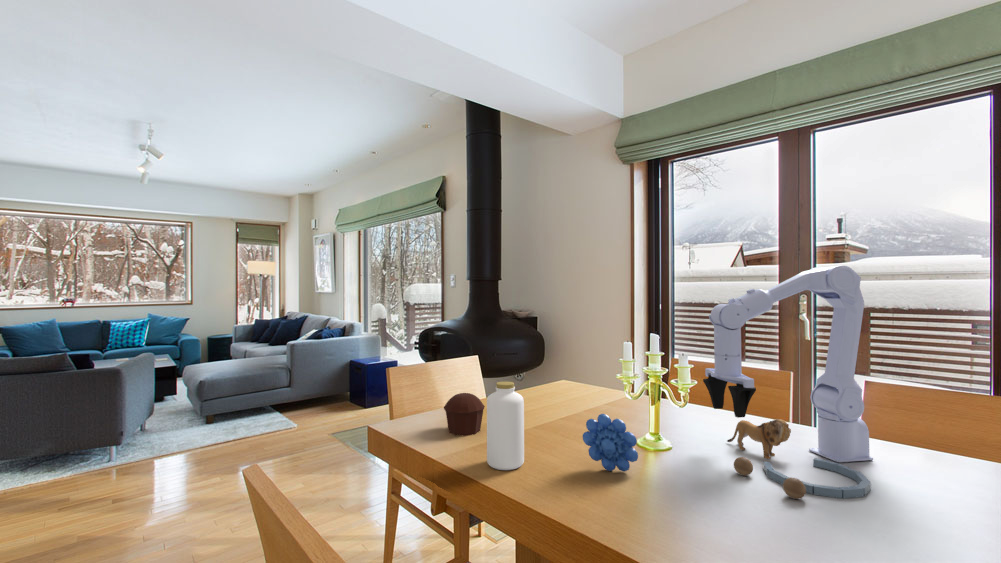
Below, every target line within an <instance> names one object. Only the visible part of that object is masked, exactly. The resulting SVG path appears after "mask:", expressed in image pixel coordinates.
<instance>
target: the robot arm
mask: <svg viewBox="0 0 1001 563" xmlns="http://www.w3.org/2000/svg"><path fill="white" fill-rule="evenodd" d="M861 280H862V277H861V276H860V275H859V274H858V273H857V272H856V271H855V270H854V269H853V268H852V267H850V266H847V265H843V264H841V265H837V266H827V267H825V266H823V267H817V266H816V267H813V268H810V269H809V270H804V271H801V272H800V273H798V274H795V275H794V276H792V277H790V278H788V279H785V280H784V281H781V282H780V283H778V284H776V285H775V286H772V287H770V288H768V289H766V290H764V289H761V288H756V289H755V288H749V289H747V290H746V291H745V292H746V293H745V294H743V295H741V296H739V297H735V298H733V297H731V298H729V299H728V302H727V303H719V304H716V305H715V306H713V309H711V312H710V314H709V315H708V319H709V321H710V323H711V325H713V346H714V349H713V352H714V358H713V359H714V368H713V367H712V368H708V367H707V368H705V369H704V370H705V373H704V374H705V377H707V378H703V380H702V382H703V384H704V385H705V387H706V390H708V394H709V396H710V400H711V404H712V407H713V409H714V410H719V409H723V408H724V404H725V403H724V402H725V393H726V387H727V384H728V383H731V384H734V385H728V387H727V388H728V390H729V392H730V395H731V399H732V403H733V404H732V405H733V406H732V408H733V414H734V417H735V418H737V419H739V418H745V417H746V415H747V411H748V406H749V404H750V401H751V399H752V397H753V396H754V395H755V393H756V391H757V388H756V387H755V378H752V377H749V376H747V375H745V374H743V373H742V370H743V369H742V327H744V325H745V324H746V322H748V321H750V320H752V319H754V318H756V317H759V316H761V315H763V314H766V313H767V312H770V311H771V310H772V309H773V306H774V303H777V302H780V301H781V300H785V299H787V298H789V297H791V296H793V295H796V294H799V293H802V292H803V291H810V292H811V293H813V294H815V295H816V296H817V297H818V296H819V298H822V299H824V300H825V301H826V302H827V303H828V304H829V306H831V307H832V308H833V311H832V312H833V313H832V319H831V327H830V334H829V341H828V348H827V355H826V363H825V370H824V373H822V375H820V376H819V377H818V378H817V379H816V382H815V383H816V384H815V386H814V388H813V389H812V390H811V392H810V401H811V404H812V406H813V407H814V408H816V414H817V436H818V437H817V447H812V448H811V447H810V448H808V451H809V452H811V453H814V454H817V455H819V456H822V457H823V458H826V459H828V460H831V461H832V462H833V461H834V462H835V463H848V462H849V463H850V462H863V461H864V462H865V461H873V460H874V457H872V456H870V431H869V428H868V426H867V424H866V422H865V421H864V420H863V419H861V416H862V415H863V414H864V411H865V403H864V400H863V396H862V395H863V389H862V387H861V386H860V385H859V383H858V382H857V381H856V379H855V373H856V367H857V366H856V365H857V359H858V351H859V343H860V337H861V330H862V323H863V317H864V316H863V315H864V308H865V300H864V297H863V294H862V293H863V292H862V291H861V287H860V286H861Z"/></svg>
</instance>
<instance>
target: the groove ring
mask: <svg viewBox="0 0 1001 563" xmlns="http://www.w3.org/2000/svg"><path fill="white" fill-rule="evenodd" d="M812 462H813V465H812V466H813V467H816V468H820V469H824V470H827V471H831V472H836V473H838V474H841V475H842V476H845V477H848V478H850V479H851V480H854V481H855V482H856V483H857V485H850V486H849V485H848V486H839V487H838V486H830V485H821V484H816V483H810V482H807V481H803V480H800V481H801V482H802V483H803V484H804V485H805V488H806V494H811V495H815V496H821V497H830V498H837V499H849V498H851V499H852V498H854V499H855V498H863V497H866V496H867V494H868V493H870V491H871V488H872V487H871V486H872V484H871V481H870V479H869V478H868V477H866V476H865V475H864V473H862V472H861V471H858V470H856V469H854V468H851V467H849V466H847V465H844V464H841V463H839V462H835V461H834V462H833V461H830V460H826V459H821V458H817V457H814V458H813V460H812ZM762 464H763V468H762V469H763V470H764V472H765V475H766V476H767V477H768V478H769V479H771V480H773V481H775V482H777V483H779V484H781V485H782V486H783V483H784V481H785V480H786V479H787V478H790V477H789V476H787V475H785V474H784V473H781V472H780V471H777V470H776V469H774V467H773V466H772V464H771V462H770V461H769V462H768V461H763V462H762Z"/></svg>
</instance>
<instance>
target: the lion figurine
mask: <svg viewBox="0 0 1001 563" xmlns="http://www.w3.org/2000/svg"><path fill="white" fill-rule="evenodd" d="M789 426H790V424H789V423H787V422H786V420H784V419H781V418H777V419H776V418H775V419H773V420H770V421H767V422H763V423H761V424H760V425H756V424H753V423H751V422H750V420H744V419H741V420H740V421H738V422H737V424H736V426H735V431H734V435H733V436H732V437H731V438H729V439H727V440H726V442H728V443H731V442H733V441H734V440H735V438H736V437H737V444H738V446H739V447H738V448H739V450H741V451H745V450H746V448H745V446H744V442H743V440H744V438H747V437H749V438H750V439H751V440H753V441H754V442H757V443H761V445H762V451H763V452H762V453H763V457H764V458H765V459H766V460H767V459H768V460H770V459H771V457H775V455H776V453H774V452H772V451H773V449H774V448H773V447H778V446H780V445H781V443H784V442H785V443H786V442H787V441H788V440H789V438H790V436H791V433H792V430H791V428H790V427H789Z"/></svg>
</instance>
